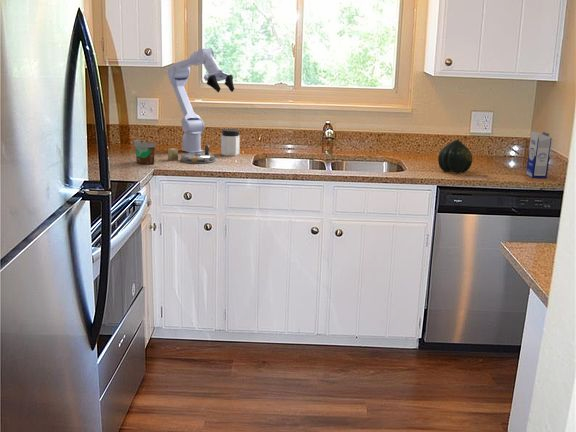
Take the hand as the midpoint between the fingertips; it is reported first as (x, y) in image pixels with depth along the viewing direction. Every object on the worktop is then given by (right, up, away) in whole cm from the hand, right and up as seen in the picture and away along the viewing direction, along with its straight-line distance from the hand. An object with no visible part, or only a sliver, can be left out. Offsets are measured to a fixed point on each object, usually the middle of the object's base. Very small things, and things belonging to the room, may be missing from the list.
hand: (226, 90), depth 298 cm
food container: (-37, -34, -4) cm, 50 cm away
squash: (+103, -37, 0) cm, 110 cm away
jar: (0, -27, +24) cm, 36 cm away
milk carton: (+139, -40, -4) cm, 145 cm away
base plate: (-14, -31, +7) cm, 35 cm away
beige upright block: (-25, -31, +6) cm, 40 cm away
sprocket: (-14, -31, +7) cm, 35 cm away
